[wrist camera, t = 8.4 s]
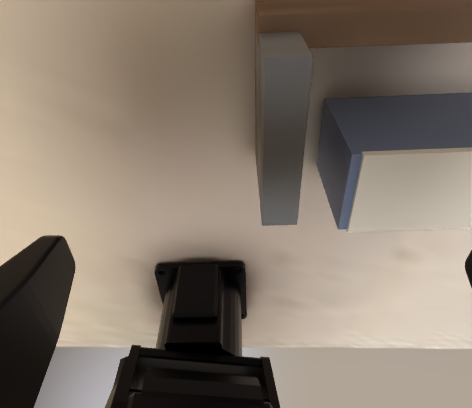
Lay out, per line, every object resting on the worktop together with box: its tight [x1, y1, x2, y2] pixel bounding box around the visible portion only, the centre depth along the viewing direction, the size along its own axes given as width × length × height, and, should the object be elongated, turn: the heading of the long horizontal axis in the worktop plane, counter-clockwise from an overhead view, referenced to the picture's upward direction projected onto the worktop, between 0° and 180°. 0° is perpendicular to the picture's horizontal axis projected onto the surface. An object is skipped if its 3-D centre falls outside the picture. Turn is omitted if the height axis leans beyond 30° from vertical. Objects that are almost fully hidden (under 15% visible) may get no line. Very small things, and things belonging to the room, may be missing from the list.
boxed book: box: [317, 93, 472, 233], centre depth 17 cm, size 4×8×6 cm, turn 92°
